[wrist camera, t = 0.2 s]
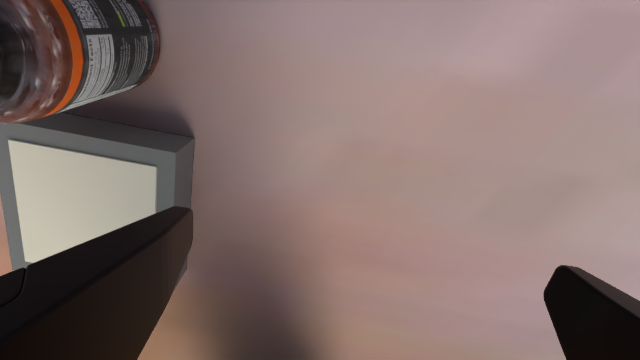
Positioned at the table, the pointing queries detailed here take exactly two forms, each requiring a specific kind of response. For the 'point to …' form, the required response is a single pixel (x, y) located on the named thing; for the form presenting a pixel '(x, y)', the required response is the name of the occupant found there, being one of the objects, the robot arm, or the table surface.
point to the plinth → (85, 181)
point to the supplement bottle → (71, 53)
